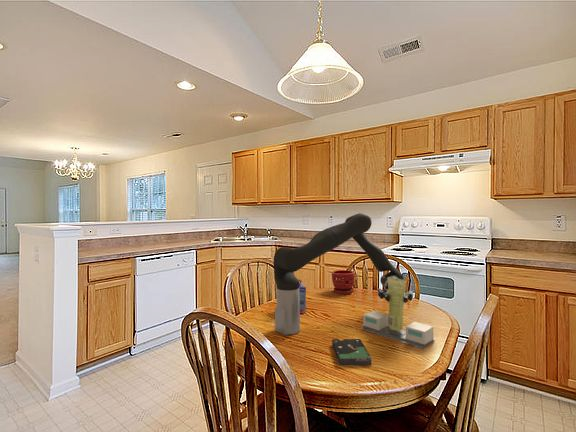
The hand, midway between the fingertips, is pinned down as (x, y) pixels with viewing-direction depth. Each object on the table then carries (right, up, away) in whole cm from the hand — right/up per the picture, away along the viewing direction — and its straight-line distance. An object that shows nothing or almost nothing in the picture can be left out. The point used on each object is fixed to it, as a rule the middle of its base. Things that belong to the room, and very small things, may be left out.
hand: (396, 299), depth 119 cm
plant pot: (-9, -13, +65) cm, 67 cm away
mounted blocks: (+1, -13, +3) cm, 13 cm away
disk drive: (-20, -15, -13) cm, 29 cm away
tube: (+1, -12, +3) cm, 12 cm away
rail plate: (+1, -14, +3) cm, 14 cm away
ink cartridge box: (-36, -14, +33) cm, 51 cm away
